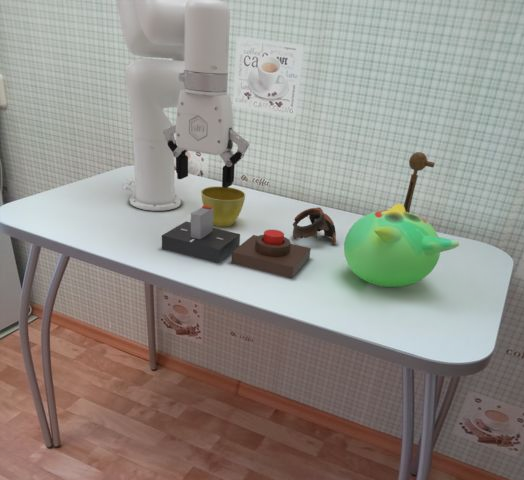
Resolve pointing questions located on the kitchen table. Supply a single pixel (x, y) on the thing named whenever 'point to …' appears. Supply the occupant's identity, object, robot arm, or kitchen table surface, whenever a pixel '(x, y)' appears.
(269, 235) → the power button
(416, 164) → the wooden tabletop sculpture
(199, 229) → the grey upright block
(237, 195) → the flower pot
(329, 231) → the brown openwork arch
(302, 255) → the button block
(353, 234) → the toy bird
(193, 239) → the panel
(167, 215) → the kitchen table surface
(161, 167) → the robot arm
